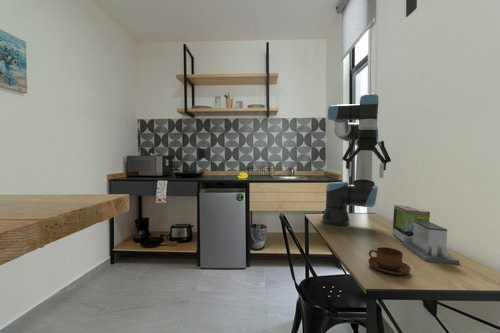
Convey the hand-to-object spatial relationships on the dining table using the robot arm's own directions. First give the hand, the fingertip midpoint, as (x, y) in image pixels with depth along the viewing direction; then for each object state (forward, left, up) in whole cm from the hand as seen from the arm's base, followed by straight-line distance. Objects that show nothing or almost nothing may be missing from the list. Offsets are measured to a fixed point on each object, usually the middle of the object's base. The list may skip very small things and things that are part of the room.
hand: (365, 177), depth 116 cm
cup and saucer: (+33, 0, -29) cm, 44 cm away
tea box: (-6, +22, -28) cm, 37 cm away
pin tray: (+13, +21, -28) cm, 37 cm away
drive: (+13, +21, -27) cm, 36 cm away
